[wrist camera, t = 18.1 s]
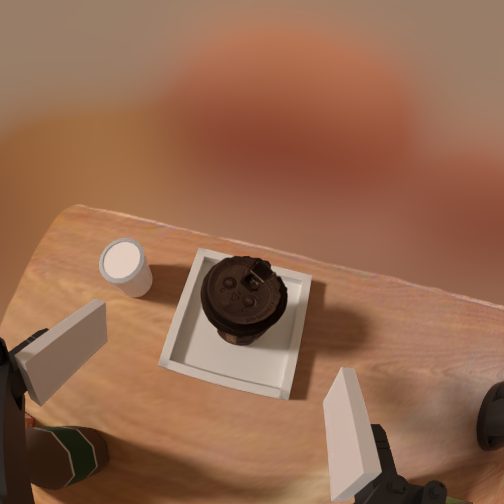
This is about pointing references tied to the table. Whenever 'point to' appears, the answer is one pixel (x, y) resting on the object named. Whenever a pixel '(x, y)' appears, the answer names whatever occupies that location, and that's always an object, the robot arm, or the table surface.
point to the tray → (233, 356)
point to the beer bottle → (63, 455)
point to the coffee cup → (243, 298)
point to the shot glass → (126, 267)
